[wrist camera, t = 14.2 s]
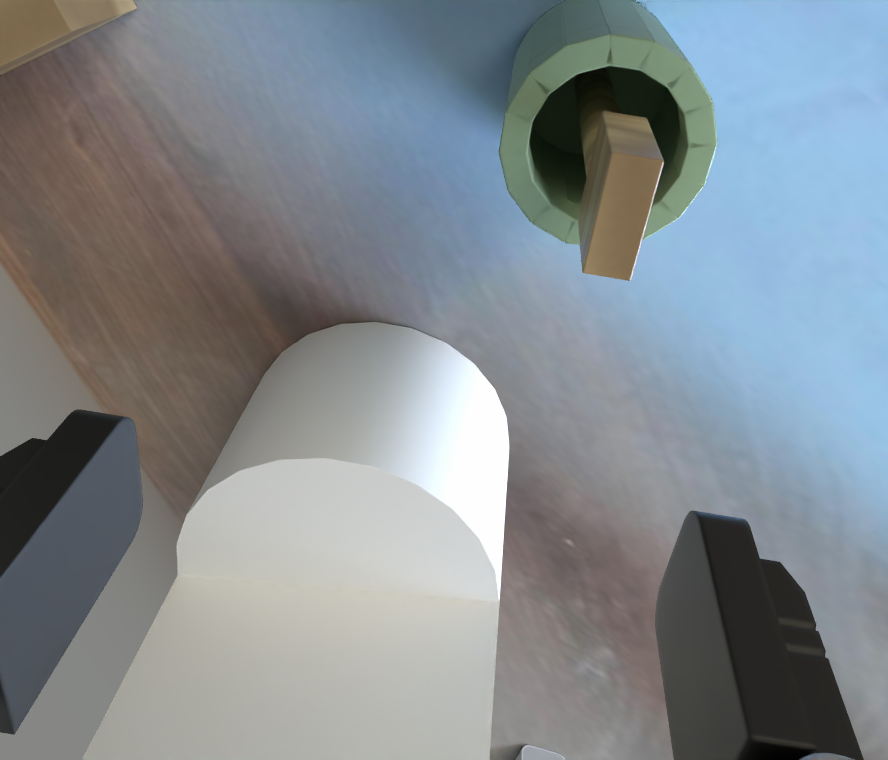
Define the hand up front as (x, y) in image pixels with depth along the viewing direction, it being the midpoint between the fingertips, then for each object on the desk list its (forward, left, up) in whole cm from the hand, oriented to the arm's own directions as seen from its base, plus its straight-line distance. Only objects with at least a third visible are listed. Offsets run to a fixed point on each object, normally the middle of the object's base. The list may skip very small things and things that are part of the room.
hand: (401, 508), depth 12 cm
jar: (-1, +5, -35) cm, 36 cm away
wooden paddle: (-1, +5, -35) cm, 35 cm away
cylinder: (+25, +6, -36) cm, 44 cm away
